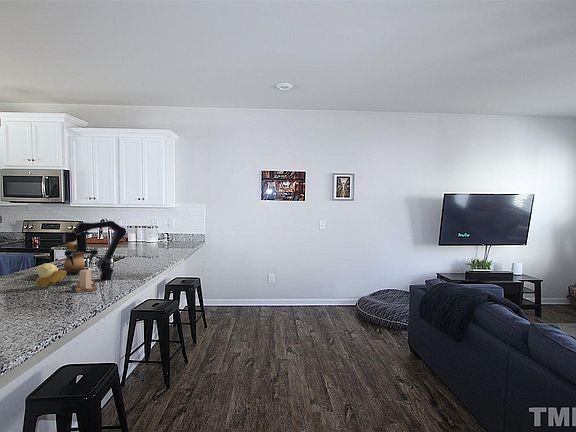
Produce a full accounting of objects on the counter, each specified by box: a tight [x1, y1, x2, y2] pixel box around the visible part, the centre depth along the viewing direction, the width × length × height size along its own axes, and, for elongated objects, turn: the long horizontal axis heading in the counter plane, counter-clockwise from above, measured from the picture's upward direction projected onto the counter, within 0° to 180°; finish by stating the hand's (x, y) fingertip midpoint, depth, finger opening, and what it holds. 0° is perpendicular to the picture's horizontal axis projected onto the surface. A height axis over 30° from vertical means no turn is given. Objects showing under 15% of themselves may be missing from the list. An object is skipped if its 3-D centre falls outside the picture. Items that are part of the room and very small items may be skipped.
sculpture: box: [36, 262, 59, 278], centre depth 255 cm, size 12×12×11 cm
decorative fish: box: [35, 270, 68, 289], centre depth 237 cm, size 22×3×10 cm, turn 168°
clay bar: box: [79, 268, 92, 289], centre depth 223 cm, size 4×4×12 cm
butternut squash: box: [63, 239, 86, 275], centre depth 272 cm, size 14×13×25 cm
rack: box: [74, 280, 97, 296], centre depth 227 cm, size 11×21×3 cm, turn 29°
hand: (81, 265), depth 239 cm, fingers open, 9 cm apart
